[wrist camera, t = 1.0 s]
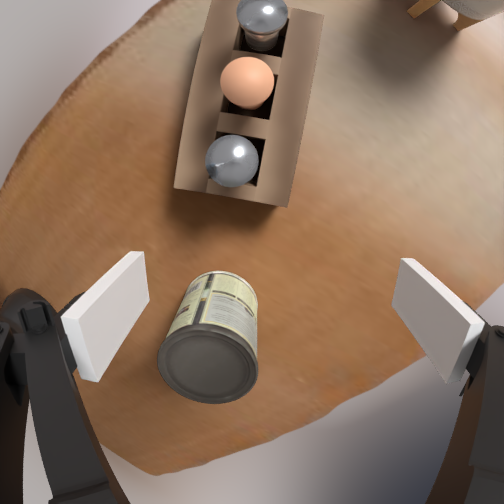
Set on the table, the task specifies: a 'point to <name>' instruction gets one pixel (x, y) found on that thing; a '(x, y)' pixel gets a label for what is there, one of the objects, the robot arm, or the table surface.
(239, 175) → the grey plug
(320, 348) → the table surface
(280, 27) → the grey plug
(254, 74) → the terracotta plug
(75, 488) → the robot arm
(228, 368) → the coffee can
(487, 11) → the planter
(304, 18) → the wooden slotted block
